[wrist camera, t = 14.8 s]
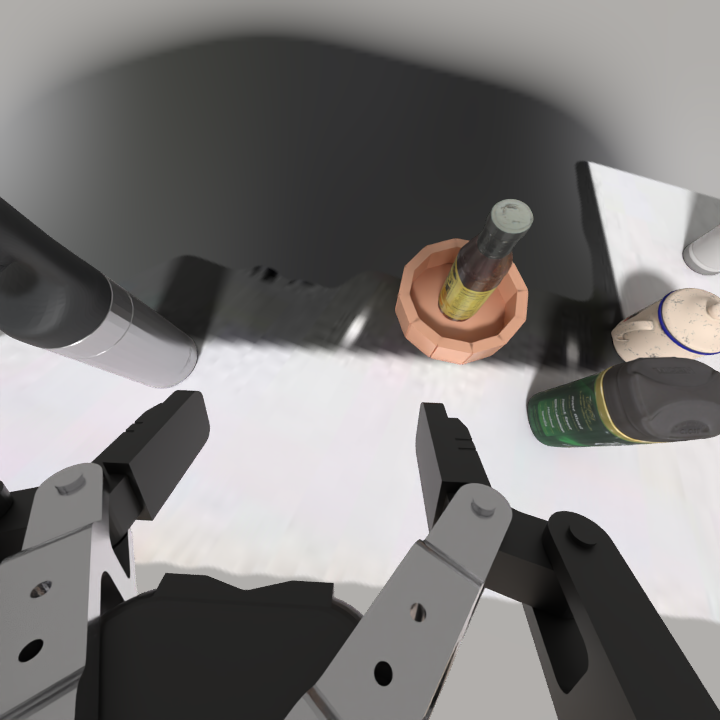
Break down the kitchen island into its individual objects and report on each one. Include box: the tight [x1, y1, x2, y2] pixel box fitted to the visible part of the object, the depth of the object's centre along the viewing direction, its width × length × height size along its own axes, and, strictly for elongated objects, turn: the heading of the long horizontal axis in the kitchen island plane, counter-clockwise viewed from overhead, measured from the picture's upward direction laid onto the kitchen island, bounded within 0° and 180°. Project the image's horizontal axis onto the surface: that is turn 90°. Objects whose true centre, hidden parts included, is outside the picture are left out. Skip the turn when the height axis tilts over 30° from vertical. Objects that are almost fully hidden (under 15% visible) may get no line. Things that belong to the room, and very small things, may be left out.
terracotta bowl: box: [395, 238, 528, 364], centre depth 48 cm, size 18×18×5 cm
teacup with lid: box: [611, 288, 720, 362], centre depth 43 cm, size 12×9×12 cm
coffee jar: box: [528, 357, 720, 447], centre depth 36 cm, size 10×8×19 cm
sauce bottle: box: [438, 199, 533, 322], centre depth 40 cm, size 7×6×20 cm
